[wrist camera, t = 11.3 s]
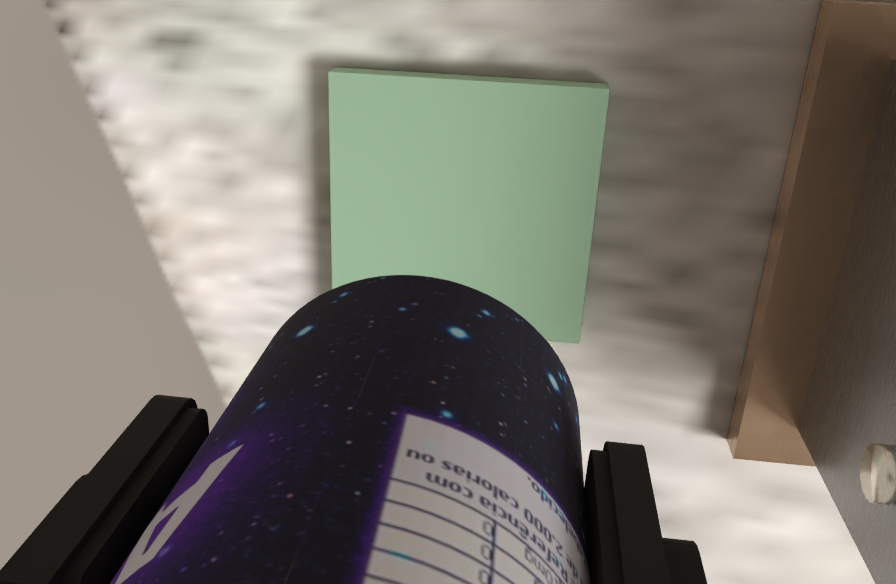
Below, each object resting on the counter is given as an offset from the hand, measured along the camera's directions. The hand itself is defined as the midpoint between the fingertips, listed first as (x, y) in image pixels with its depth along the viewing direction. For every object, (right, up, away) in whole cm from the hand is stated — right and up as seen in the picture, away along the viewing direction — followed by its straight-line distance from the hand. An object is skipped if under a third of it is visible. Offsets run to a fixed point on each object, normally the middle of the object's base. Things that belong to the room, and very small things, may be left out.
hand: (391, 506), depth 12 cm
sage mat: (+1, +6, +17) cm, 18 cm away
